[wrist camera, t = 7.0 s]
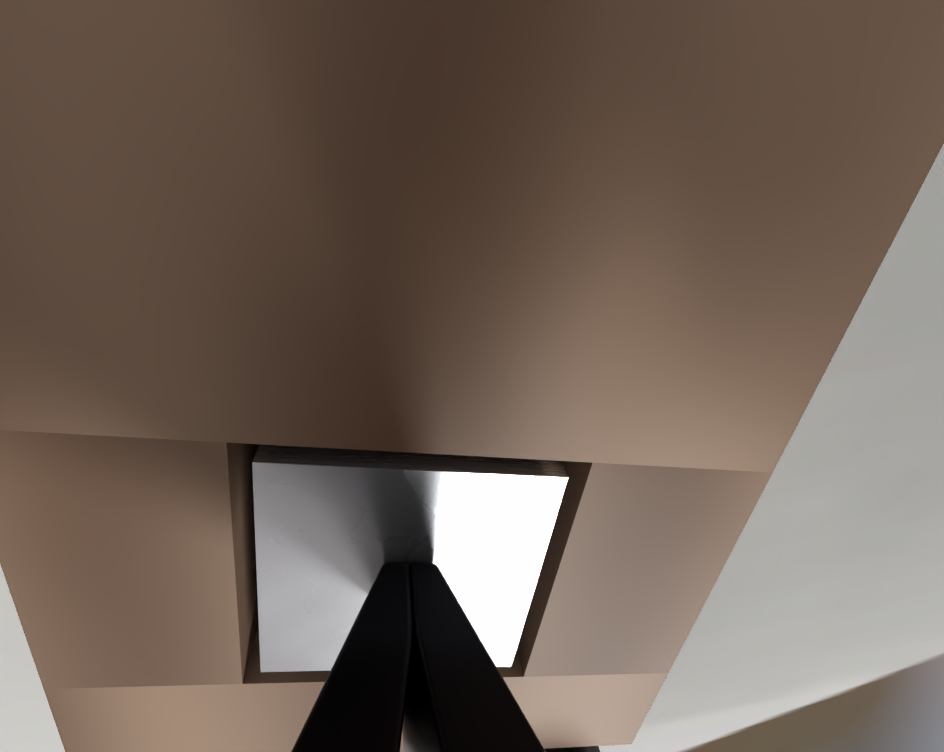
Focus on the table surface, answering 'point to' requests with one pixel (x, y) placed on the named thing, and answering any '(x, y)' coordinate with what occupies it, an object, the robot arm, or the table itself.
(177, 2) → the walnut block
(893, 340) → the table surface
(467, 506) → the steel peg
